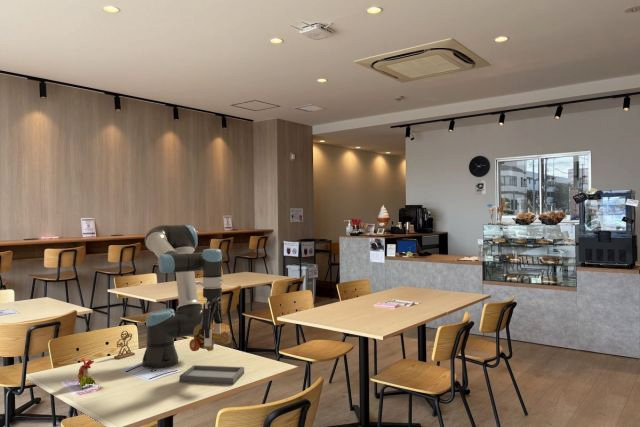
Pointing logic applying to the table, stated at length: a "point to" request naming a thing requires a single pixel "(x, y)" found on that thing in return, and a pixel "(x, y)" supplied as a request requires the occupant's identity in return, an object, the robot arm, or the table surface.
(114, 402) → the table surface
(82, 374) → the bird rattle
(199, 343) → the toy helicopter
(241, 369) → the gray tray
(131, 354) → the wire human figurine
